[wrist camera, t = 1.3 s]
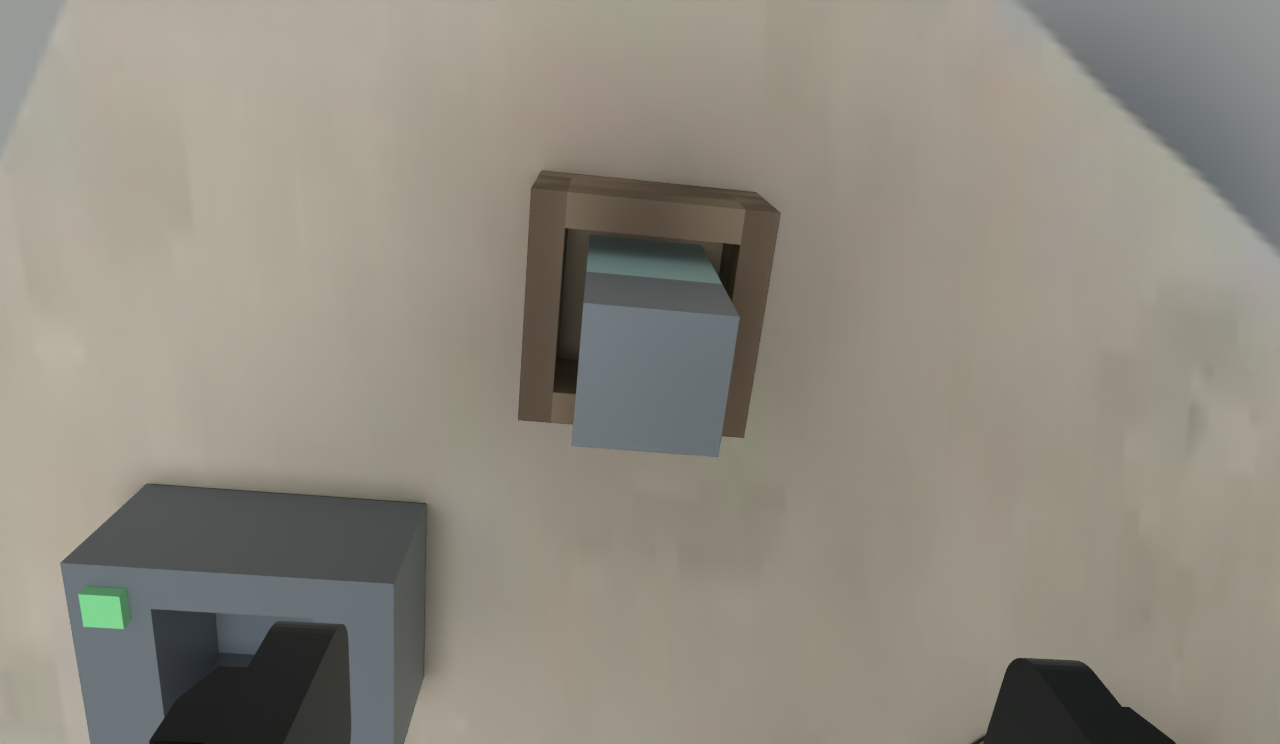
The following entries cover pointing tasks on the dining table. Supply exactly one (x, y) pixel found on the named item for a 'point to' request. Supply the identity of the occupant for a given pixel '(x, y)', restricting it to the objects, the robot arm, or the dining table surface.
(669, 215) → the wooden box
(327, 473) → the dining table surface
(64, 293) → the dining table surface
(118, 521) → the port
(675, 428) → the plug
